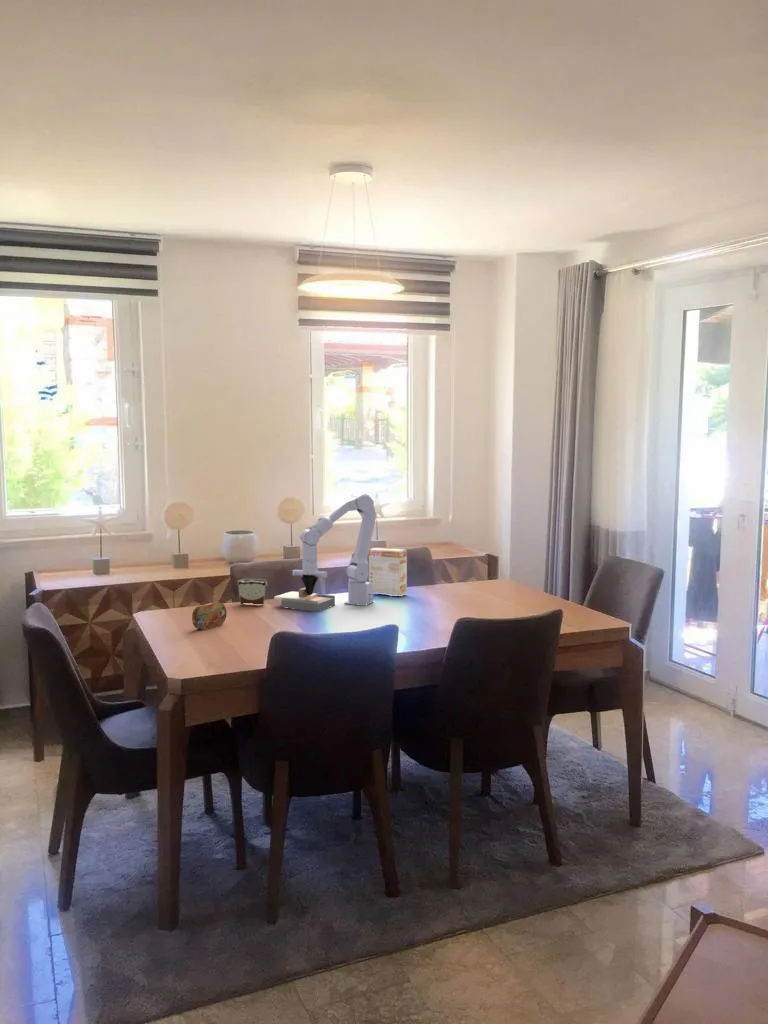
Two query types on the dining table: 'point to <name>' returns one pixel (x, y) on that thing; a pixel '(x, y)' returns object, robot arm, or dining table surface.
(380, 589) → the coffeecake box
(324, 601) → the box
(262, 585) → the food container
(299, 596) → the cover
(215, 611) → the tin
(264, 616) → the dining table surface
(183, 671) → the dining table surface
